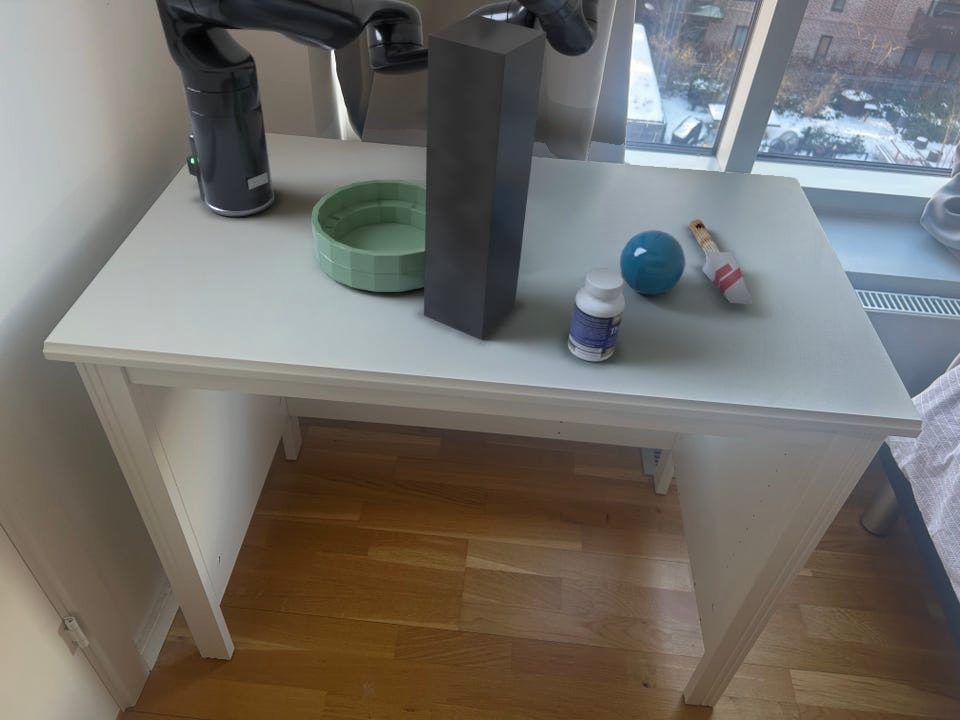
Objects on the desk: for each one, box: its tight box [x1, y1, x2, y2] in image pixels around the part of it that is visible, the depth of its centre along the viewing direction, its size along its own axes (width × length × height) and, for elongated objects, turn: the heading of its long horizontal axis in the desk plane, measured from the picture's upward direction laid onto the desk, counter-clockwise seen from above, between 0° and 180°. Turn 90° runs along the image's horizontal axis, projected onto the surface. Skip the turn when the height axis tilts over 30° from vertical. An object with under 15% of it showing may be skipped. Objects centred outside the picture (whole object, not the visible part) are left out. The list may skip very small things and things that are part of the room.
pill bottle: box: [567, 267, 626, 362], centre depth 82 cm, size 5×5×10 cm
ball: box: [619, 229, 686, 296], centre depth 92 cm, size 8×8×8 cm
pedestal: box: [423, 15, 547, 341], centre depth 79 cm, size 8×8×32 cm
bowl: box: [310, 179, 426, 293], centre depth 95 cm, size 19×19×6 cm
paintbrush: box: [689, 218, 753, 304], centre depth 99 cm, size 4×3×20 cm
